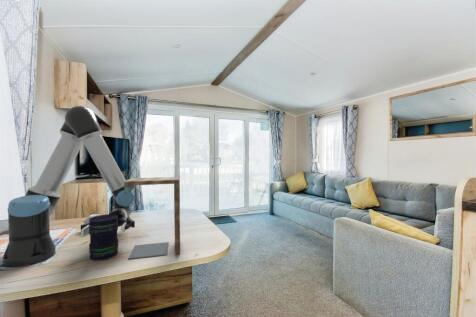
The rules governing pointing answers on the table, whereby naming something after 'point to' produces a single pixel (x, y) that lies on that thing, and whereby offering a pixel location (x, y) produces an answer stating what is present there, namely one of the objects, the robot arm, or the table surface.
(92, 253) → the rusty oil drum
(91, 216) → the die
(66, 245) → the table surface
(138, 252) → the pad
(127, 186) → the wooden gallows frame
